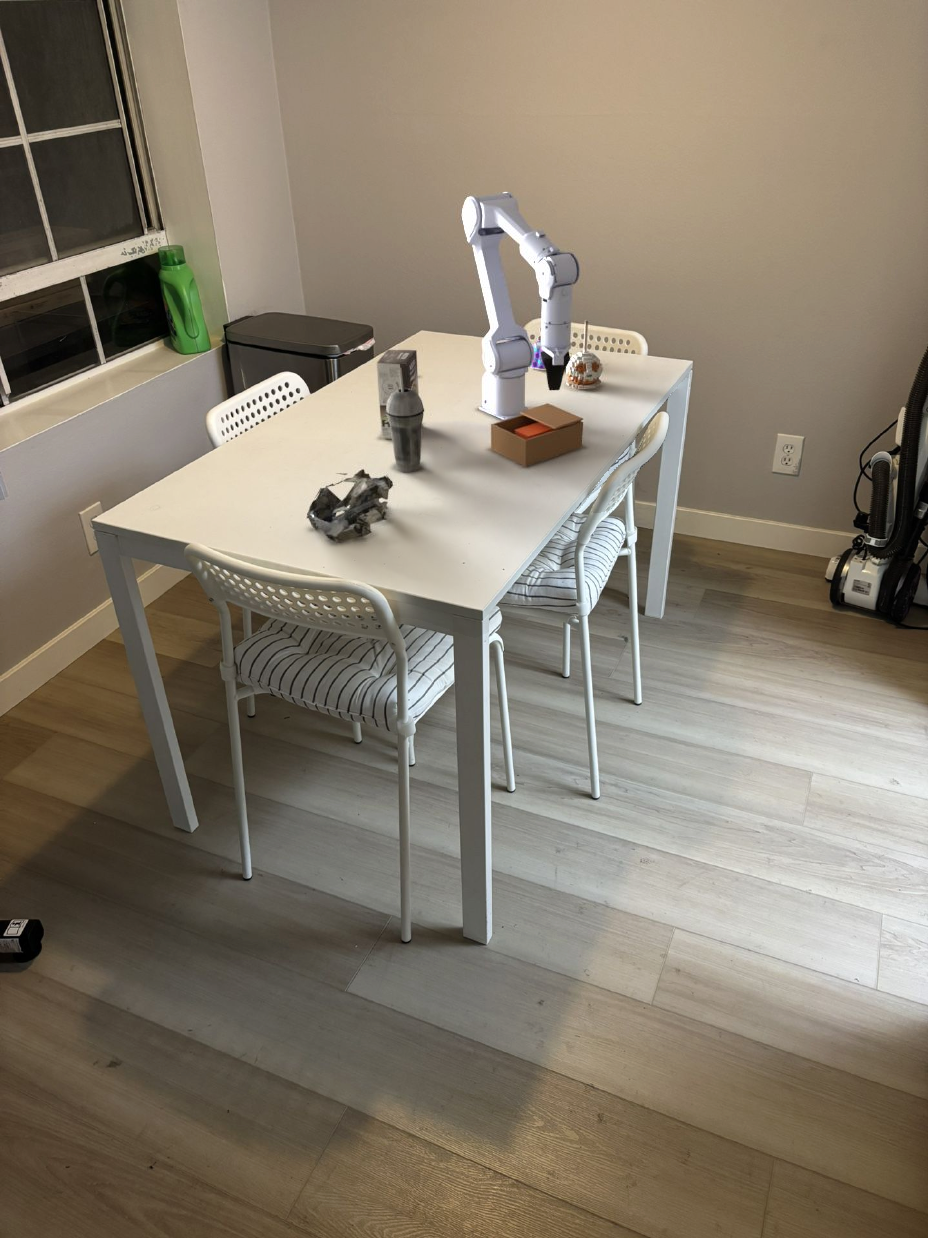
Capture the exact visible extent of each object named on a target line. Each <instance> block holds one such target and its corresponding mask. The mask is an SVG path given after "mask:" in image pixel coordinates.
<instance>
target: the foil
mask: <svg viewBox="0 0 928 1238" xmlns="http://www.w3.org/2000/svg"><path fill="white" fill-rule="evenodd" d="M335 474H336V475H342V476H343V475H344V476H347V475H348V473H343V472H341V473H339V472H337V473H336V472H335ZM341 483H354V484H353V486H352V487H351V489H350V490H349V491H348V492H347V494H346V495H345V497H343V499H340V498H339V497H338V496H337V495H336V494H335V493H334V492H333V491H331V489H329V488H330V487H335V486H336V485H339V484H341ZM393 487H394V482H393V481H392V480H391V478H390V477H389V476H388V475H387V474H385V475H384V476H380V477H371V476H370V473H367V472H366V471H365V469H364V468H362V469H361V470H359V471H358V472H356V473H355V474H354V475H353V476H352V477H346V478H345V479H344V478H342V479H341V480H340V481H338V482H336V483H331V484H329V485H326V486H325V487H320V488H319V490H318V492H317V494H316V495H315V496H314V499H313V501H312V502H311V504H310V505H309V508H308V510H307V512H306V519H308V521H309V523H310V525H311V527H312V528H313V529H314V530H317V529H320V530H321V531H322V533H323V534H324V535H325V536H326V538H327V539H329V540H331V541H333V542H334V543H337V544H339V543H343V542H346V541H349V540H354V539H358V538H363V537H365V536H368V535H369V534H372V530H371V525H373V524H375V523H379V522H382V521H385V520H387V518H386V515H387V510H388V509H389V507H388V502H389V501H388V499H389V491H390V490H391V489H392V488H393ZM393 491H394V488H393ZM380 499H383V500H385V501H382V502H381V501H380ZM386 500H387V501H386ZM340 512H341V513H340ZM337 513H340V514H338V515H337Z"/></svg>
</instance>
